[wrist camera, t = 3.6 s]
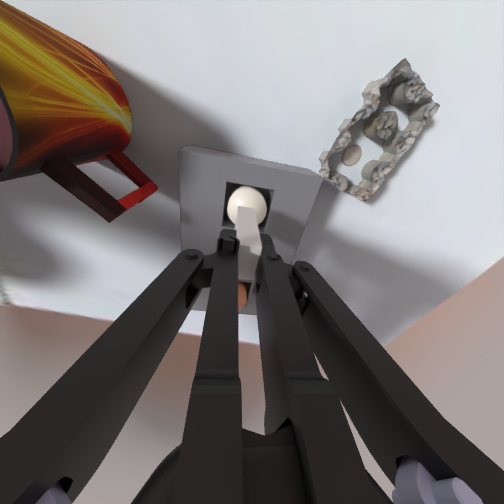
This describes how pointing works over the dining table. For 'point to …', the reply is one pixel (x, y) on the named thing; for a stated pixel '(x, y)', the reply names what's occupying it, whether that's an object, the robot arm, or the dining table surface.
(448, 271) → the dining table surface
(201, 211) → the console
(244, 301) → the rust button
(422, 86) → the egg carton
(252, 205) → the cream button
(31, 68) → the mug
